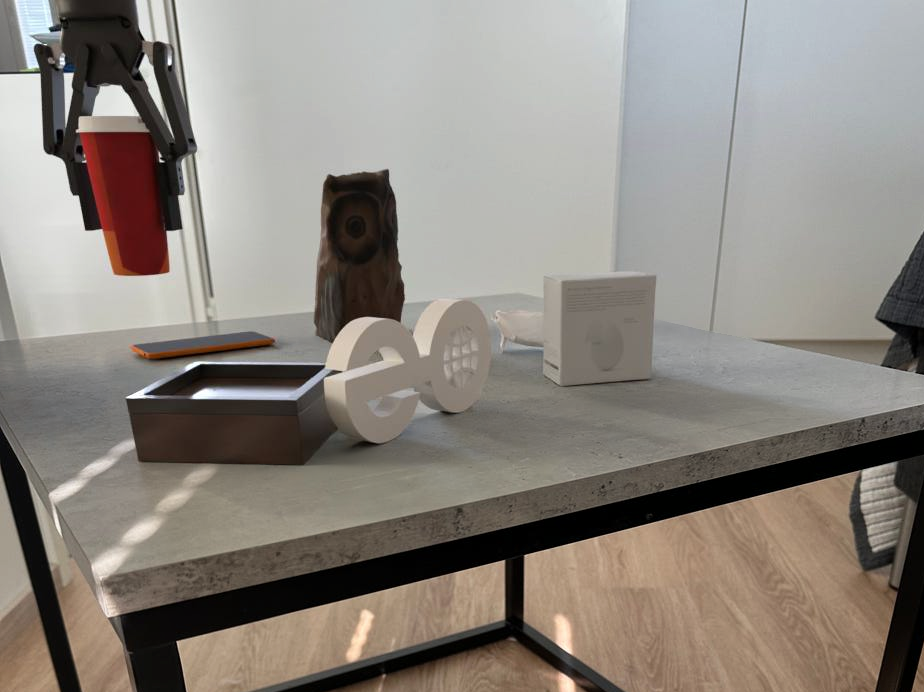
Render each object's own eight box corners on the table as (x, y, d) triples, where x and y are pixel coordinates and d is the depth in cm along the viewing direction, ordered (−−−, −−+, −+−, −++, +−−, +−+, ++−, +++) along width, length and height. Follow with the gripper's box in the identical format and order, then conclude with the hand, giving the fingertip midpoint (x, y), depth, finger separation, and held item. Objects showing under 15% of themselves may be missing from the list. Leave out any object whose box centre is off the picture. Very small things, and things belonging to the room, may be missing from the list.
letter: (472, 397, 93) (471, 291, 88) (491, 399, 92) (490, 293, 87) (330, 452, 77) (318, 327, 72) (350, 456, 76) (340, 329, 71)
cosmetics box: (629, 367, 104) (635, 268, 99) (652, 380, 99) (659, 275, 94) (540, 374, 102) (542, 272, 97) (559, 387, 96) (561, 280, 91)
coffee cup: (195, 269, 104) (173, 116, 97) (149, 278, 97) (123, 114, 90) (133, 267, 106) (108, 118, 99) (84, 275, 100) (53, 116, 92)
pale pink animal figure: (504, 368, 111) (585, 345, 110) (489, 310, 109) (572, 286, 108) (503, 368, 116) (581, 345, 115) (489, 312, 114) (568, 289, 113)
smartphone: (276, 344, 120) (276, 337, 119) (148, 361, 111) (147, 354, 111) (253, 336, 125) (252, 329, 125) (129, 351, 117) (128, 344, 116)
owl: (405, 328, 129) (396, 168, 120) (420, 344, 118) (412, 170, 109) (314, 333, 127) (298, 170, 117) (321, 350, 116) (304, 172, 106)
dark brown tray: (137, 461, 76) (125, 398, 73) (203, 417, 88) (194, 361, 85) (303, 465, 74) (296, 400, 72) (346, 419, 86) (341, 362, 84)
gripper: (211, -23, 91) (240, 227, 102) (10, -18, 93) (60, 227, 104) (180, -37, 85) (215, 233, 95) (-35, -30, 87) (23, 232, 98)
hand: (134, 229), depth 100 cm, fingers closed on coffee cup, 8 cm apart
